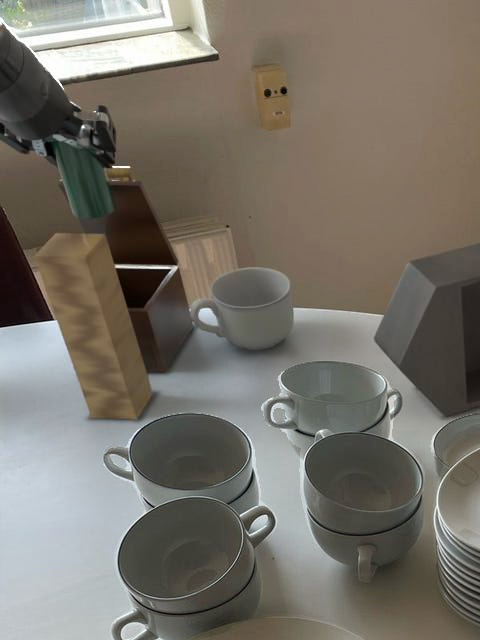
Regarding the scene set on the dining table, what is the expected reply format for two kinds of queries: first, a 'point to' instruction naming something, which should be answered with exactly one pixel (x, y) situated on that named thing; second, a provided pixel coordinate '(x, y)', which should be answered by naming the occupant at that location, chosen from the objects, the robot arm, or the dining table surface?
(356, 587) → the dining table surface
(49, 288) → the stand
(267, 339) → the teacup
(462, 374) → the planter
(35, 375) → the dining table surface
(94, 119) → the robot arm
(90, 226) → the lid
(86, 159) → the green cylinder
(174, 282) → the chest
